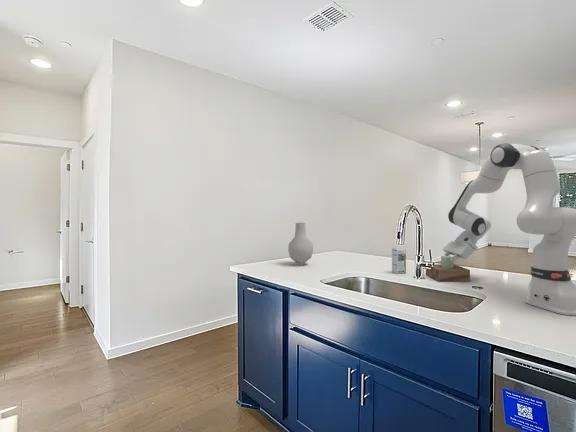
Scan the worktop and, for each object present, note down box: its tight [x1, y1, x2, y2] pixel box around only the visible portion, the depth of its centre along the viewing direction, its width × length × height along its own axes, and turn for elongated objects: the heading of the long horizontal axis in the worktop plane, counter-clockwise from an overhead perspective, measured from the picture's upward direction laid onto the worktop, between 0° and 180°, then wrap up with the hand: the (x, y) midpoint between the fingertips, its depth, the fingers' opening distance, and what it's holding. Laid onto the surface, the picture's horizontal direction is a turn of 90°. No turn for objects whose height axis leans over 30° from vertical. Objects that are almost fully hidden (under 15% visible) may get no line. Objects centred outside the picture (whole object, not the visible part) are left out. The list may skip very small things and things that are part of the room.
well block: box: [425, 263, 471, 283], centre depth 178 cm, size 16×16×6 cm
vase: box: [288, 222, 314, 266], centre depth 220 cm, size 17×16×28 cm
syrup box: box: [391, 247, 407, 275], centre depth 193 cm, size 6×6×14 cm
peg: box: [440, 255, 455, 268], centre depth 178 cm, size 4×4×12 cm
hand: (446, 260), depth 178 cm, fingers open, 5 cm apart
